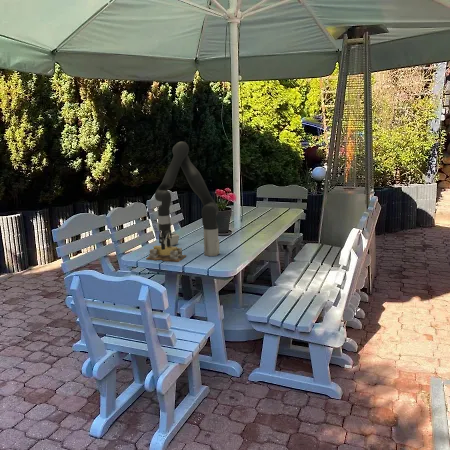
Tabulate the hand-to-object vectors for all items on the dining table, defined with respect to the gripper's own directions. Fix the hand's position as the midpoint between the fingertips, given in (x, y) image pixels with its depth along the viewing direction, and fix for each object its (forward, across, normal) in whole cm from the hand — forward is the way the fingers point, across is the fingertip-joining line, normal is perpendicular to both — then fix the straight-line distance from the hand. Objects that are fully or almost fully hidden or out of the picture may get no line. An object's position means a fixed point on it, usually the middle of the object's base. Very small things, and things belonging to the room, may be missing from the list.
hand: (166, 247), depth 286 cm
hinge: (+7, -30, -10) cm, 32 cm away
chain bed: (+7, -1, -1) cm, 7 cm away
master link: (+4, -1, -1) cm, 5 cm away
